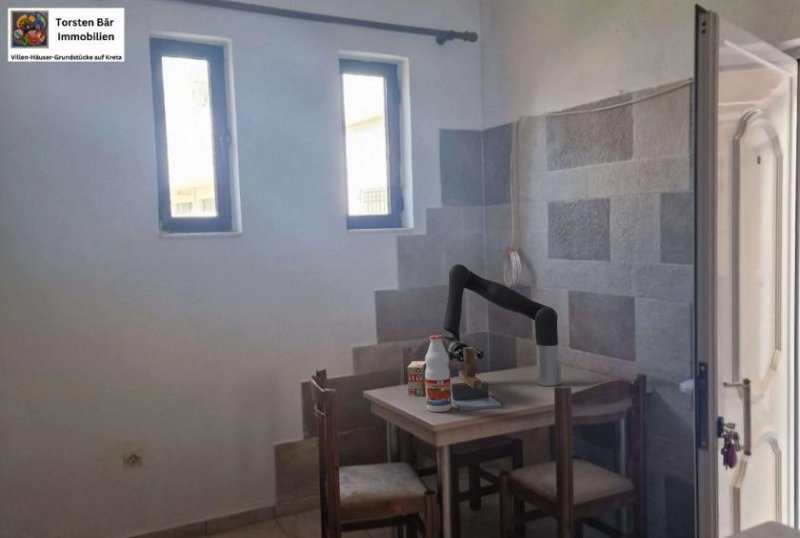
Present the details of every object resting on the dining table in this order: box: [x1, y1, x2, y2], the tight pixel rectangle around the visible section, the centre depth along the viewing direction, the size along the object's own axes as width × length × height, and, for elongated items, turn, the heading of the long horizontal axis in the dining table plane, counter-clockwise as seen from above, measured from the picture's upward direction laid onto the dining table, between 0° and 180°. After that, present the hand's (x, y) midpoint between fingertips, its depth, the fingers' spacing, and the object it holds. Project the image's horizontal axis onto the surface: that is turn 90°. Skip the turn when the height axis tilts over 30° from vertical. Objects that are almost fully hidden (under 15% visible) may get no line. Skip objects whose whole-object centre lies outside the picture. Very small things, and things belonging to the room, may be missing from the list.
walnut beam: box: [458, 346, 482, 389], centre depth 246 cm, size 4×20×14 cm, turn 11°
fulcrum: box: [451, 380, 502, 412], centre depth 246 cm, size 16×26×7 cm, turn 11°
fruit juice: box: [424, 334, 452, 413], centre depth 235 cm, size 9×9×28 cm
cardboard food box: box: [407, 360, 427, 397], centre depth 268 cm, size 21×6×12 cm, turn 169°
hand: (470, 357), depth 243 cm, fingers open, 8 cm apart
